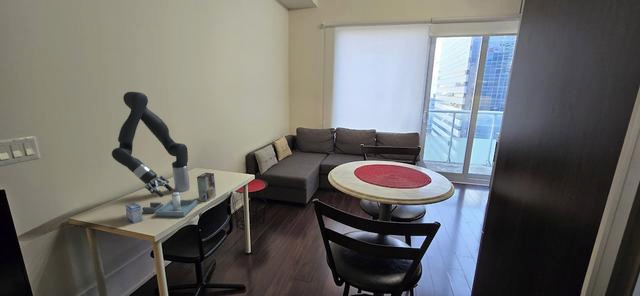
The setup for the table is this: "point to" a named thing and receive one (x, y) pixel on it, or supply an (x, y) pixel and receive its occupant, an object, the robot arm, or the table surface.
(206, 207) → the table surface
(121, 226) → the table surface
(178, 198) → the white dome cap bottle
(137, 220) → the medicine box
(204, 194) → the coffee box
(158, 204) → the holder
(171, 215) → the parts tray
